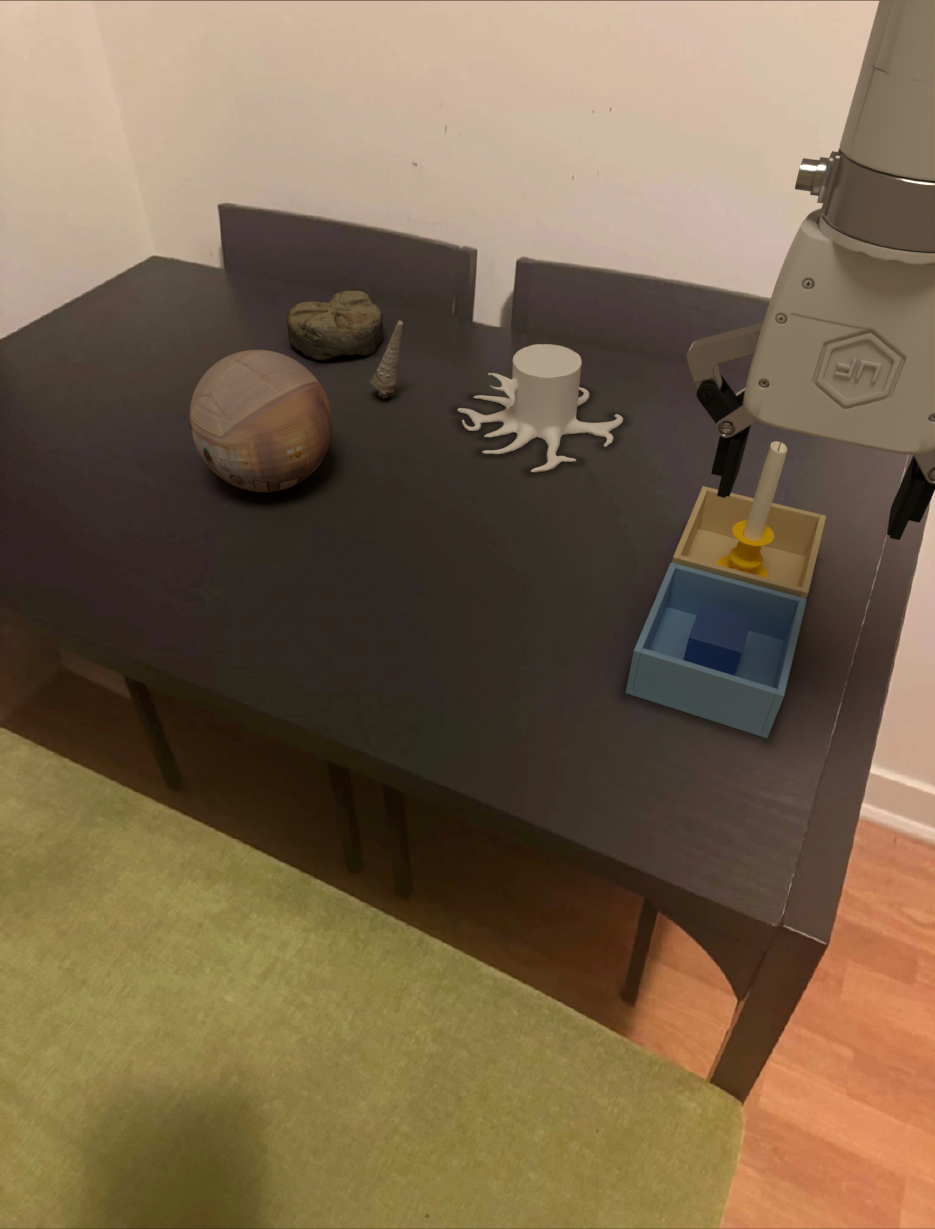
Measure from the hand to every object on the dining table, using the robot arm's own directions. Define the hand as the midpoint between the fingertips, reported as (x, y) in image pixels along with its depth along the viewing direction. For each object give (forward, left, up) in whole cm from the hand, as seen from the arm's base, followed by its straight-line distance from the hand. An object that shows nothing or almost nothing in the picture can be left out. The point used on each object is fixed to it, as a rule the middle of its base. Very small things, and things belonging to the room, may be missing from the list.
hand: (808, 504), depth 51 cm
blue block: (+3, -10, -26) cm, 28 cm away
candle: (+3, -23, -26) cm, 35 cm away
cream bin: (+3, -23, -26) cm, 35 cm away
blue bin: (+3, -10, -26) cm, 28 cm away
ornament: (+55, -19, -26) cm, 64 cm away
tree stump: (+31, -43, -26) cm, 59 cm away
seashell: (+51, -40, -26) cm, 70 cm away
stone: (+65, -51, -26) cm, 87 cm away
